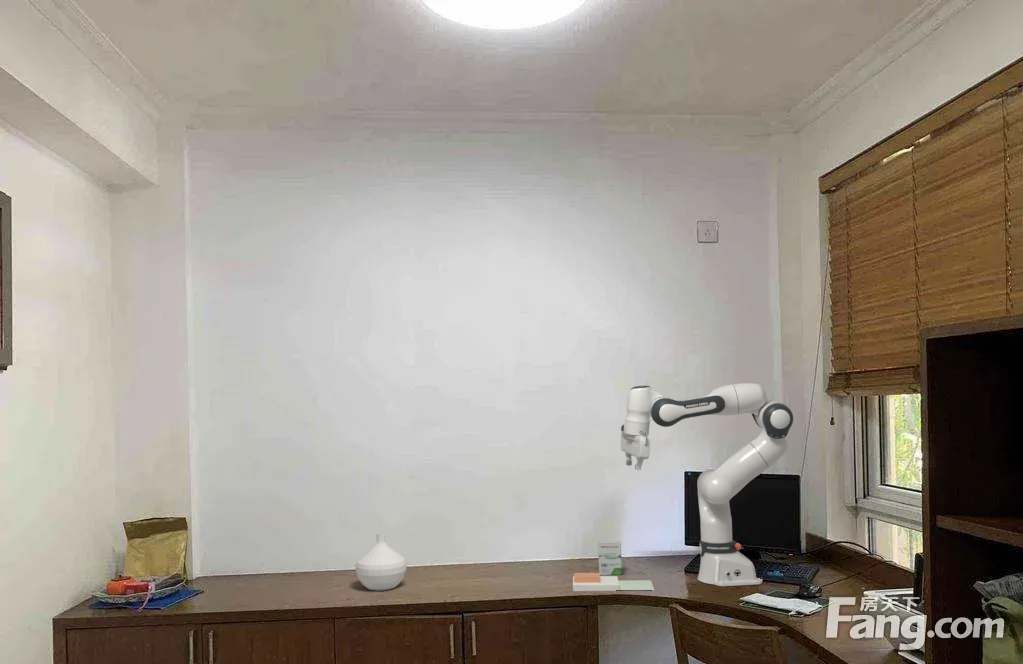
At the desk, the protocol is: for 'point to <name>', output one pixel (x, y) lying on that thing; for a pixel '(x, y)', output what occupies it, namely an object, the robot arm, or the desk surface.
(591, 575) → the card
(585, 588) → the deck
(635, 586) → the mat
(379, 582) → the vase
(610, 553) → the ink box
